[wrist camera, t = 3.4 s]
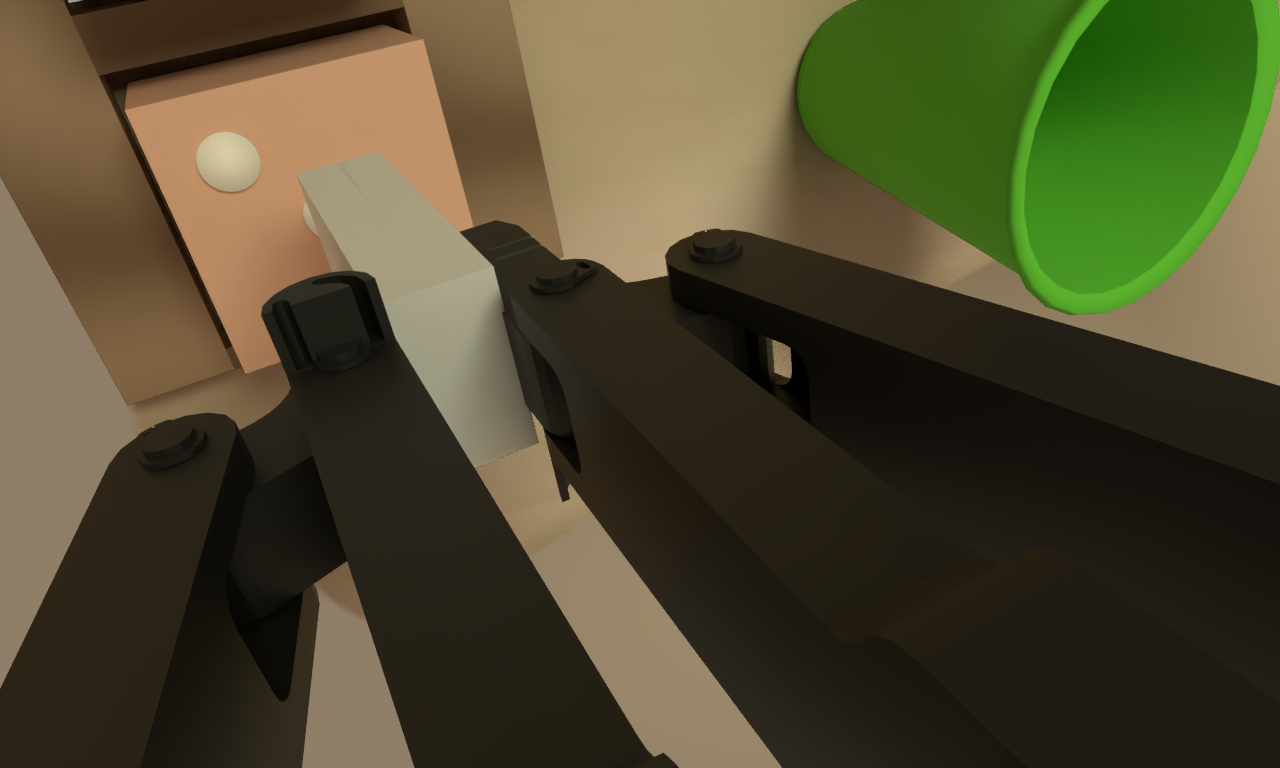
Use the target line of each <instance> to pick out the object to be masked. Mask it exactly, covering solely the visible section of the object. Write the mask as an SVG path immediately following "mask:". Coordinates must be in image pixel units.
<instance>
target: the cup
mask: <svg viewBox="0 0 1280 768" xmlns="http://www.w3.org/2000/svg"><path fill="white" fill-rule="evenodd" d="M1279 57H1280V16H1279V9H1278V3H1277V0H857V1H855V2H853V3H851V4H849V5H847V6H845V7H844V8H843V9H841V10H840V11H838V12H837V13H835V14H834V15H833V16H832V17H831V18H829V19H828V20H827V21H826V22H825V23H824V24H823V25H822V26H821V28H820V29H819V30H818V32H817V33H816V34H815V36H814V37H813V38H812V40H811V42H810V44H809V46H808V48H807V50H806V52H805V54H804V57H803V61H802V64H801V68H800V71H799V76H798V86H797V99H798V110H799V113H800V116H801V120H802V123H803V126H804V127H805V129H806V130H807V132H808V134H809V136H810V137H811V139H812V140H813V142H814V144H815V145H816V146H817V147H818V148H819V149H820V150H821V151H822V152H824V153H825V154H826V155H827V156H829V157H830V158H832V159H833V160H835V161H837V162H838V163H840V164H842V165H843V166H845V167H846V168H848V169H850V170H851V171H853V172H854V173H856V174H858V175H859V176H861V177H863V178H864V179H866V180H867V181H869V182H871V183H872V184H874V185H875V186H877V187H879V188H880V189H882V190H884V191H885V192H887V193H888V194H890V195H892V196H893V197H895V198H896V199H898V200H900V201H901V202H903V203H905V204H906V205H908V206H909V207H911V208H913V209H914V210H916V211H917V212H919V213H921V214H922V215H924V216H926V217H927V218H929V219H930V220H932V221H934V222H935V223H937V224H938V225H940V226H942V227H943V228H945V229H947V230H948V231H950V232H951V233H953V234H955V235H956V236H958V237H959V238H961V239H963V240H964V241H966V242H968V243H969V244H971V245H972V246H974V247H976V248H977V249H979V250H980V251H982V252H984V253H985V254H987V255H989V256H990V257H992V258H993V259H995V260H997V261H998V262H1000V263H1002V264H1003V265H1005V266H1006V267H1008V268H1010V269H1011V270H1013V271H1014V272H1016V273H1018V274H1019V275H1020V277H1021V279H1022V281H1023V283H1024V285H1025V287H1026V289H1027V290H1028V291H1029V292H1031V293H1032V294H1033V295H1034V296H1035V297H1036V298H1037V299H1038V300H1039V301H1040V302H1041V303H1042V304H1043V305H1044V306H1045V307H1048V308H1051V309H1054V310H1057V311H1060V312H1063V313H1066V314H1068V315H1076V314H1096V313H1106V312H1108V311H1111V310H1114V309H1117V308H1119V307H1122V306H1125V305H1127V304H1130V303H1133V302H1135V301H1136V300H1138V299H1139V298H1141V297H1142V296H1144V295H1145V294H1147V293H1148V292H1150V291H1152V290H1153V289H1154V288H1156V287H1157V286H1159V285H1160V284H1162V283H1163V282H1164V281H1165V280H1166V279H1167V278H1168V277H1170V276H1171V275H1172V274H1173V273H1174V272H1175V271H1176V270H1177V269H1178V268H1179V267H1180V266H1181V265H1182V264H1184V263H1185V262H1186V261H1187V260H1188V259H1189V258H1190V257H1191V255H1192V254H1193V253H1194V252H1195V250H1196V249H1197V248H1198V247H1199V246H1200V244H1201V243H1202V242H1203V240H1204V239H1205V238H1206V237H1207V236H1208V234H1209V233H1210V232H1211V231H1212V229H1213V228H1214V227H1215V225H1216V224H1217V222H1218V221H1219V219H1220V217H1221V216H1222V214H1223V213H1224V211H1225V209H1226V208H1227V206H1228V205H1229V203H1230V201H1231V200H1232V198H1233V196H1234V195H1235V193H1236V191H1237V190H1238V188H1239V186H1240V184H1241V182H1242V180H1243V178H1244V175H1245V173H1246V171H1247V169H1248V167H1249V165H1250V163H1251V161H1252V159H1253V156H1254V154H1255V152H1256V150H1257V147H1258V144H1259V141H1260V138H1261V135H1262V132H1263V129H1264V126H1265V123H1266V120H1267V118H1268V114H1269V112H1270V109H1271V104H1272V99H1273V94H1274V89H1275V84H1276V79H1277V74H1278V69H1279Z"/></svg>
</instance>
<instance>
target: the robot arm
mask: <svg viewBox="0 0 1280 768" xmlns="http://www.w3.org/2000/svg"><path fill="white" fill-rule="evenodd" d="M296 175H297V178H298V181H299V184H300V186H301V189H302V192H303V194H304V197H305V200H306V203H307V205H308V208H309V211H310V213H311V216H312V219H313V221H314V224H315V227H316V230H317V232H318V235H319V238H320V240H321V243H322V246H323V249H324V251H325V254H326V257H327V259H328V262H329V265H330V268H331V270H332V272H330V273H326V274H322V275H318V276H313V277H310V278H307V279H305V280H302V281H299V282H297V283H294V284H292V285H289V286H288V287H286V288H284V289H283V290H281V291H279V292H278V293H276V294H274V295H273V296H272V297H271V298H270V299H269V300H268V301H267V302H266V303H265V304H264V305H263V307H262V312H261V317H262V319H263V321H264V324H265V326H266V328H267V331H268V333H269V335H270V337H271V340H272V342H273V344H274V347H275V349H276V351H277V354H278V356H279V358H280V361H281V363H282V365H283V368H284V370H285V372H286V375H287V377H288V380H289V383H290V386H291V389H290V391H289V393H288V395H287V396H286V397H285V399H284V400H283V401H282V402H281V403H280V404H279V405H278V406H277V407H276V408H275V409H273V410H272V411H271V412H270V413H269V414H267V415H265V416H264V417H262V418H261V419H259V420H257V421H256V422H254V423H253V424H251V425H249V426H247V427H245V428H243V429H241V430H240V431H239V429H238V427H237V425H236V423H235V421H233V420H232V419H230V418H229V417H228V416H226V415H223V414H215V413H202V414H195V415H189V416H184V417H181V418H178V419H175V420H166V421H164V422H161V423H159V424H157V425H154V426H155V428H152V427H150V428H149V429H147V430H145V431H143V432H142V433H140V434H139V435H138V437H136V438H135V439H134V440H132V441H131V442H130V443H129V444H127V445H126V446H125V447H123V448H122V449H121V450H120V451H119V452H118V453H117V455H116V456H115V457H114V459H113V460H112V461H111V463H110V464H109V466H108V468H107V470H106V472H105V474H104V476H103V478H102V480H101V482H100V484H99V486H98V488H97V490H96V492H95V494H94V496H93V498H92V501H91V503H90V505H89V507H88V509H87V511H86V513H85V515H84V517H83V519H82V521H81V523H80V525H79V528H78V529H77V532H76V534H75V536H74V538H73V540H72V542H71V544H70V546H69V548H68V550H67V552H66V554H65V556H64V558H63V560H62V562H61V564H60V567H59V569H58V571H57V573H56V575H55V577H54V579H53V581H52V583H51V585H50V587H49V589H48V591H47V593H46V595H45V597H44V600H43V602H42V604H41V606H40V608H39V610H38V612H37V614H36V616H35V618H34V620H33V623H32V624H31V626H30V629H29V630H28V633H27V635H26V637H25V639H24V641H23V643H22V645H21V647H20V649H19V651H18V653H17V655H16V657H15V659H14V661H13V664H12V666H11V668H10V670H9V672H8V674H7V676H6V678H5V680H4V682H3V684H2V686H1V688H0V768H302V761H303V752H304V743H305V742H304V741H305V733H306V724H307V714H308V705H309V696H310V687H311V677H312V668H313V658H314V649H315V640H316V631H317V621H318V611H319V599H318V594H317V590H316V588H315V586H314V583H316V582H317V581H318V580H320V579H321V578H323V577H324V576H326V575H327V574H329V573H330V572H332V571H333V570H334V569H336V568H337V567H339V566H340V565H342V564H343V563H345V562H346V561H347V562H348V565H349V568H350V571H351V574H352V577H353V580H354V583H355V586H356V589H357V592H358V595H359V598H360V601H361V605H362V608H363V611H364V614H365V617H366V620H367V623H368V626H369V629H370V632H371V635H372V638H373V641H374V644H375V647H376V651H377V654H378V657H379V659H380V663H381V666H382V669H383V672H384V675H385V678H386V681H387V684H388V687H389V691H390V694H391V697H392V700H393V703H394V706H395V709H396V712H397V715H398V718H399V721H400V724H401V727H402V730H403V733H404V736H405V739H406V743H407V745H408V749H409V752H410V755H411V758H412V761H413V764H414V767H415V768H678V766H677V765H676V764H675V763H674V762H673V761H672V760H671V759H670V758H669V757H668V756H667V755H665V754H664V753H662V754H660V755H658V756H655V757H654V756H652V754H651V753H649V752H648V751H647V749H646V748H645V747H644V745H643V744H642V742H641V740H640V739H639V737H638V736H637V734H636V733H635V731H634V730H633V728H632V726H631V724H630V723H629V721H628V720H627V718H626V716H625V715H624V713H623V711H622V710H621V708H620V706H619V705H618V703H617V701H616V700H615V698H614V696H613V695H612V694H611V692H610V690H609V688H608V687H607V685H606V683H605V682H604V680H603V679H602V677H601V675H600V673H599V672H598V670H597V669H596V667H595V665H594V664H593V662H592V660H591V659H590V657H589V655H588V654H587V652H586V650H585V649H584V647H583V646H582V644H581V642H580V641H579V639H578V637H577V636H576V634H575V632H574V631H573V629H572V627H571V626H570V624H569V623H568V621H567V619H566V618H565V616H564V614H563V613H562V611H561V609H560V608H559V606H558V604H557V603H556V601H555V600H554V598H553V596H552V595H551V593H550V591H549V590H548V588H547V586H546V585H545V583H544V581H543V580H542V578H541V577H540V575H539V573H538V572H537V570H536V569H535V567H534V565H533V563H532V562H531V560H530V558H529V557H528V555H527V554H526V552H525V550H524V549H523V547H522V545H521V544H520V542H519V540H518V539H517V537H516V535H515V534H514V532H513V531H512V529H511V527H510V526H509V524H508V522H507V521H506V519H505V517H504V516H503V514H502V512H501V511H500V509H499V508H498V506H497V504H496V503H495V501H494V499H493V498H492V496H491V494H490V493H489V491H488V489H487V488H486V486H485V485H484V483H483V481H482V480H481V478H480V476H479V475H478V473H477V471H476V470H475V468H478V467H480V466H483V465H485V464H488V463H490V462H492V461H495V460H497V459H500V458H502V457H505V456H507V455H510V454H512V453H514V452H517V451H519V450H522V449H524V448H527V447H529V446H532V445H534V444H536V443H539V441H538V438H537V434H536V430H535V426H534V422H533V418H532V414H531V412H532V413H533V414H534V415H535V417H536V418H537V419H538V420H539V422H540V423H541V424H542V426H543V429H544V433H545V437H546V441H547V445H548V449H549V453H550V457H551V461H552V465H553V469H554V473H555V477H556V481H557V485H558V489H559V493H560V496H561V499H562V502H564V501H567V500H569V499H570V497H569V493H568V489H567V488H568V486H569V484H571V485H572V487H573V488H574V489H575V491H576V492H577V493H578V495H579V496H580V497H581V499H582V500H583V501H584V503H585V504H586V505H587V507H588V508H589V509H590V511H591V512H592V513H593V515H594V516H595V517H596V519H597V520H598V521H599V523H600V524H601V525H602V527H603V528H604V529H605V531H606V532H607V534H608V535H609V536H610V537H611V539H612V540H613V542H614V543H615V544H616V546H617V547H618V548H619V550H620V551H621V552H622V554H623V555H624V556H625V558H626V559H627V560H628V562H629V563H630V564H631V565H632V567H633V568H634V570H635V571H636V572H637V574H638V575H639V576H640V578H641V579H642V580H643V582H644V583H645V584H646V586H647V587H648V588H649V590H650V591H651V592H652V594H653V595H654V596H655V598H656V599H657V601H658V602H659V603H660V605H661V606H662V607H663V609H664V610H665V611H666V613H667V614H668V615H669V616H670V618H671V619H672V621H673V622H674V623H675V625H676V626H677V627H678V629H679V630H680V631H681V633H682V634H683V635H684V637H685V638H686V639H687V641H688V642H689V643H690V645H691V646H692V647H693V649H694V650H695V651H696V653H697V654H698V655H699V657H700V658H701V659H702V661H703V662H704V663H705V665H706V666H707V667H708V669H709V670H710V672H711V673H712V674H713V675H714V677H715V678H716V679H717V681H718V682H719V684H720V685H721V686H722V688H723V689H724V690H725V691H726V693H727V694H728V696H729V697H730V698H731V700H732V701H733V702H734V704H735V705H736V706H737V708H738V709H739V710H740V712H741V713H742V714H743V716H744V717H745V718H746V720H747V721H748V722H749V724H750V725H751V726H752V728H753V729H754V730H755V732H756V733H757V734H758V736H759V737H760V738H761V740H762V741H763V742H764V744H765V745H766V746H767V748H768V749H769V750H770V752H771V753H772V754H773V756H774V757H775V759H776V760H777V761H778V763H779V764H780V765H781V767H782V768H1280V386H1278V385H1275V384H1271V383H1268V382H1264V381H1261V380H1257V379H1254V378H1251V377H1247V376H1244V375H1240V374H1237V373H1233V372H1230V371H1226V370H1223V369H1220V368H1216V367H1213V366H1209V365H1206V364H1202V363H1199V362H1195V361H1192V360H1188V359H1185V358H1182V357H1178V356H1174V355H1171V354H1168V353H1164V352H1161V351H1157V350H1153V349H1150V348H1147V347H1143V346H1140V345H1137V344H1133V343H1130V342H1126V341H1123V340H1119V339H1116V338H1112V337H1109V336H1105V335H1102V334H1098V333H1095V332H1092V331H1088V330H1085V329H1081V328H1078V327H1074V326H1071V325H1067V324H1064V323H1060V322H1057V321H1053V320H1050V319H1046V318H1043V317H1039V316H1036V315H1033V314H1029V313H1026V312H1022V311H1019V310H1015V309H1012V308H1008V307H1005V306H1002V305H998V304H995V303H991V302H988V301H984V300H981V299H977V298H974V297H970V296H967V295H963V294H960V293H957V292H953V291H950V290H946V289H943V288H939V287H936V286H932V285H929V284H925V283H922V282H918V281H915V280H912V279H908V278H905V277H901V276H898V275H894V274H891V273H887V272H884V271H880V270H877V269H874V268H870V267H867V266H863V265H860V264H856V263H853V262H849V261H846V260H842V259H839V258H835V257H832V256H829V255H825V254H822V253H818V252H815V251H811V250H808V249H804V248H801V247H797V246H794V245H790V244H787V243H784V242H780V241H777V240H773V239H770V238H766V237H763V236H759V235H756V234H752V233H748V232H742V231H736V230H720V229H710V230H707V232H705V231H700V232H696V233H694V234H693V235H692V236H690V237H687V238H684V239H682V240H680V241H678V242H677V243H675V244H674V245H673V246H671V247H670V248H669V250H668V252H667V253H666V255H665V258H666V265H667V272H668V276H664V277H659V278H653V279H648V280H642V281H636V282H629V283H626V282H624V281H623V280H622V279H620V278H619V277H618V276H616V275H615V274H614V273H613V272H611V271H610V270H609V269H607V268H606V267H605V266H603V265H601V264H599V263H597V262H594V261H592V260H587V259H569V260H560V259H559V258H557V257H556V256H555V255H554V254H553V253H551V252H550V251H549V250H548V249H547V248H545V247H544V246H541V243H539V242H538V241H537V240H536V239H534V238H532V237H531V235H530V234H528V233H527V232H526V231H525V230H524V229H522V228H521V227H520V226H519V225H515V224H511V223H506V222H502V221H498V220H495V221H492V222H488V223H485V224H482V225H479V226H476V227H473V228H469V229H466V230H463V231H460V232H459V231H458V230H457V229H456V228H455V227H454V226H453V225H452V224H451V223H450V222H449V221H448V220H447V219H446V218H445V217H444V216H443V215H442V214H441V213H440V212H439V211H438V210H437V209H436V208H435V207H434V206H433V205H432V204H431V203H430V202H429V201H428V200H427V199H426V198H425V197H424V196H423V195H422V194H421V193H420V192H419V191H418V190H417V189H416V188H415V187H414V186H413V185H412V184H411V183H410V182H409V181H408V180H407V179H406V178H405V177H404V176H403V175H402V174H401V173H400V172H399V171H398V170H397V169H396V168H395V167H394V166H393V165H392V164H391V163H390V162H389V161H388V160H387V159H386V158H385V157H384V156H383V155H382V154H381V153H380V152H379V151H377V152H373V153H370V154H366V155H362V156H359V157H355V158H351V159H348V160H344V161H341V162H337V163H333V164H330V165H326V166H322V167H319V168H315V169H312V170H308V171H304V172H301V173H297V174H296ZM772 339H773V340H776V341H778V342H781V343H783V344H785V345H787V346H788V347H790V348H791V362H792V375H791V378H787V377H784V376H781V375H779V374H777V373H774V359H773V345H772Z"/></svg>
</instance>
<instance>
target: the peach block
mask: <svg viewBox="0 0 1280 768" xmlns="http://www.w3.org/2000/svg"><path fill="white" fill-rule="evenodd" d="M125 112H126V114H127V117H128V119H129V121H130V123H131V125H132V127H133V130H134V132H135V134H136V136H137V138H138V141H139V143H140V145H141V147H142V149H143V151H144V154H145V156H146V158H147V160H148V162H149V165H150V167H151V169H152V171H153V173H154V175H155V178H156V180H157V182H158V184H159V186H160V189H161V191H162V193H163V195H164V197H165V199H166V202H167V204H168V206H169V208H170V210H171V213H172V215H173V217H174V219H175V221H176V223H177V226H178V228H179V230H180V232H181V234H182V237H183V239H184V241H185V243H186V245H187V247H188V250H189V252H190V254H191V256H192V258H193V261H194V263H195V265H196V267H197V269H198V271H199V274H200V276H201V278H202V280H203V282H204V285H205V287H206V289H207V291H208V293H209V295H210V298H211V300H212V302H213V304H214V306H215V309H216V311H217V313H218V315H219V317H220V319H221V322H222V324H223V326H224V328H225V330H226V332H227V335H228V337H229V339H230V341H231V343H232V346H233V348H234V350H235V352H236V354H237V356H238V359H239V361H240V363H241V365H242V367H243V370H244V372H245V374H247V373H250V372H253V371H256V370H259V369H262V368H265V367H267V366H270V365H273V364H276V363H279V362H281V361H280V358H279V356H278V354H277V351H276V349H275V347H274V344H273V342H272V340H271V337H270V335H269V333H268V331H267V328H266V326H265V324H264V321H263V319H262V317H261V312H262V307H263V305H264V304H265V303H266V302H267V301H268V300H269V299H270V298H271V297H272V296H273V295H274V294H276V293H278V292H279V291H281V290H283V289H284V288H286V287H288V286H289V285H292V284H294V283H297V282H299V281H302V280H305V279H307V278H310V277H313V276H318V275H322V274H326V273H330V272H332V270H331V268H330V265H329V262H328V259H327V257H326V254H325V251H324V249H323V246H322V243H321V240H320V238H319V235H318V232H317V230H316V227H315V224H314V221H313V219H312V216H311V213H310V211H309V208H308V205H307V203H306V200H305V197H304V194H303V192H302V189H301V186H300V184H299V181H298V178H297V175H296V174H297V173H301V172H304V171H308V170H312V169H315V168H319V167H322V166H326V165H330V164H333V163H337V162H341V161H344V160H348V159H351V158H355V157H359V156H362V155H366V154H370V153H373V152H377V151H379V152H380V153H381V154H382V155H383V156H384V157H385V158H386V159H387V160H388V161H389V162H390V163H391V164H392V165H393V166H394V167H395V168H396V169H397V170H398V171H399V172H400V173H401V174H402V175H403V176H404V177H405V178H406V179H407V180H408V181H409V182H410V183H411V184H412V185H413V186H414V187H415V188H416V189H417V190H418V191H419V192H420V193H421V194H422V195H423V196H424V197H425V198H426V199H427V200H428V201H429V202H430V203H431V204H432V205H433V206H434V207H435V208H436V209H437V210H438V211H439V212H440V213H441V214H442V215H443V216H444V217H445V218H446V219H447V220H448V221H449V222H450V223H451V224H452V225H453V226H454V227H455V228H456V229H457V230H458V231H459V232H460V231H463V230H466V229H469V228H473V227H474V226H473V223H472V219H471V215H470V212H469V208H468V204H467V200H466V197H465V193H464V189H463V186H462V182H461V178H460V174H459V171H458V167H457V163H456V160H455V156H454V152H453V148H452V145H451V141H450V137H449V134H448V130H447V126H446V122H445V119H444V115H443V111H442V108H441V104H440V100H439V96H438V93H437V89H436V85H435V82H434V78H433V74H432V70H431V67H430V63H429V59H428V55H427V52H426V48H425V44H424V41H423V39H422V38H419V37H416V36H413V35H411V34H408V33H405V32H402V31H400V30H397V29H394V28H391V27H389V26H386V25H383V24H382V25H377V26H373V27H369V28H364V29H360V30H355V31H351V32H347V33H342V34H338V35H334V36H329V37H325V38H321V39H316V40H312V41H308V42H303V43H299V44H294V45H290V46H286V47H281V48H277V49H273V50H268V51H264V52H260V53H255V54H251V55H247V56H242V57H238V58H233V59H229V60H225V61H220V62H216V63H212V64H207V65H203V66H199V67H194V68H190V69H186V70H181V71H177V72H173V73H168V74H164V75H159V76H155V77H151V78H146V79H142V80H138V81H133V82H129V83H128V84H127V93H126V102H125Z"/></svg>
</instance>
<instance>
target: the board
mask: <svg viewBox="0 0 1280 768" xmlns="http://www.w3.org/2000/svg"><path fill="white" fill-rule="evenodd" d="M388 10H392V11H393V14H394V18H395V21H396V25H397V28H398V30H400V31H402V32H405V33H408V34H411V35H413V36H416V37H419V38H422V39H423V41H424V44H425V48H426V52H427V55H428V59H429V63H430V67H431V70H432V74H433V78H434V82H435V85H436V89H437V93H438V96H439V100H440V104H441V108H442V111H443V115H444V119H445V122H446V126H447V130H448V134H449V137H450V141H451V145H452V148H453V152H454V156H455V160H456V163H457V167H458V171H459V174H460V178H461V182H462V186H463V189H464V193H465V197H466V200H467V204H468V208H469V212H470V215H471V219H472V223H473V226H474V227H476V226H479V225H482V224H485V223H488V222H492V221H495V220H498V221H502V222H506V223H511V224H515V225H519V226H520V227H521V228H522V229H524V230H525V231H526V232H527V233H528V234H530V235H531V237H532V238H534V239H536V240H537V241H538V242H539V243H541V246H544V247H545V248H547V249H548V250H549V251H550V252H551V253H553V254H554V255H555V256H556V257H557V258H562V257H564V255H563V250H562V245H561V241H560V236H559V231H558V227H557V222H556V218H555V213H554V208H553V204H552V199H551V194H550V190H549V185H548V180H547V176H546V171H545V166H544V162H543V157H542V153H541V148H540V143H539V139H538V134H537V129H536V125H535V120H534V115H533V111H532V106H531V101H530V97H529V92H528V88H527V83H526V78H525V74H524V69H523V64H522V60H521V55H520V50H519V46H518V41H517V36H516V32H515V27H514V23H513V18H512V13H511V9H510V4H509V0H130V1H125V2H120V3H115V4H110V5H105V6H100V7H95V8H90V9H85V10H80V11H75V10H74V7H73V5H72V3H69V2H68V0H0V176H1V179H2V180H3V182H4V184H5V186H6V188H7V189H8V191H9V193H10V195H11V197H12V198H13V200H14V202H15V204H16V206H17V207H18V209H19V211H20V213H21V215H22V216H23V218H24V220H25V222H26V223H27V225H28V227H29V229H30V231H31V233H32V234H33V236H34V238H35V240H36V242H37V243H38V245H39V247H40V249H41V251H42V252H43V254H44V256H45V258H46V260H47V261H48V263H49V265H50V267H51V269H52V270H53V272H54V274H55V276H56V278H57V279H58V281H59V283H60V285H61V287H62V288H63V290H64V292H65V294H66V296H67V298H68V299H69V301H70V303H71V305H72V307H73V308H74V310H75V312H76V314H77V315H78V317H79V319H80V321H81V323H82V325H83V326H84V328H85V330H86V332H87V333H88V335H89V337H90V339H91V341H92V343H93V344H94V346H95V348H96V350H97V352H98V353H99V355H100V357H101V359H102V361H103V363H104V364H105V366H106V368H107V370H108V372H109V373H110V375H111V377H112V379H113V381H114V382H115V384H116V386H117V388H118V390H119V391H120V393H121V395H122V397H123V399H124V400H125V402H126V404H127V406H128V405H131V404H134V403H137V402H140V401H143V400H146V399H148V398H151V397H154V396H157V395H160V394H163V393H166V392H169V391H172V390H175V389H178V388H181V387H184V386H187V385H189V384H192V383H195V382H198V381H201V380H204V379H207V378H210V377H213V376H216V375H219V374H222V373H225V372H228V371H231V370H233V369H236V368H239V367H242V365H241V363H240V361H239V359H238V356H237V354H236V352H235V350H234V348H233V346H232V343H231V341H230V339H229V337H228V335H227V332H226V330H225V328H224V327H223V328H221V327H220V324H219V322H218V320H217V318H216V316H215V314H214V311H213V309H212V307H211V305H210V303H209V301H208V298H207V296H206V294H205V292H204V290H203V288H202V285H201V283H200V281H199V279H198V277H197V274H196V272H195V270H194V268H193V266H192V264H191V261H190V259H189V257H188V255H187V253H186V251H185V248H184V246H183V244H182V242H181V240H180V238H179V235H178V233H177V231H176V229H175V227H174V225H173V222H172V220H171V218H170V216H169V214H168V212H167V209H166V207H165V205H164V203H163V201H162V199H161V196H160V194H159V192H158V190H157V188H156V185H155V183H154V181H153V179H152V177H151V175H150V172H149V170H148V168H147V166H146V164H145V162H144V159H143V157H142V155H141V153H140V151H139V149H138V146H137V144H136V142H135V140H134V138H133V136H132V133H131V131H130V129H129V127H128V125H127V123H126V120H125V118H124V116H123V114H122V112H121V110H120V107H119V105H118V103H117V101H116V99H115V96H114V94H113V92H112V90H111V88H110V86H109V83H108V81H107V79H106V77H105V75H104V74H108V73H113V72H117V71H122V70H126V69H130V68H135V67H139V66H144V65H148V64H153V63H157V62H162V61H166V60H170V59H175V58H179V57H184V56H188V55H193V54H197V53H202V52H206V51H210V50H215V49H219V48H224V47H228V46H233V45H237V44H242V43H246V42H250V41H255V40H259V39H264V38H268V37H273V36H277V35H282V34H286V33H290V32H295V31H299V30H304V29H308V28H313V27H317V26H322V25H326V24H331V23H335V22H339V21H344V20H348V19H353V18H357V17H362V16H366V15H371V14H375V13H379V12H384V11H388Z"/></svg>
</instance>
